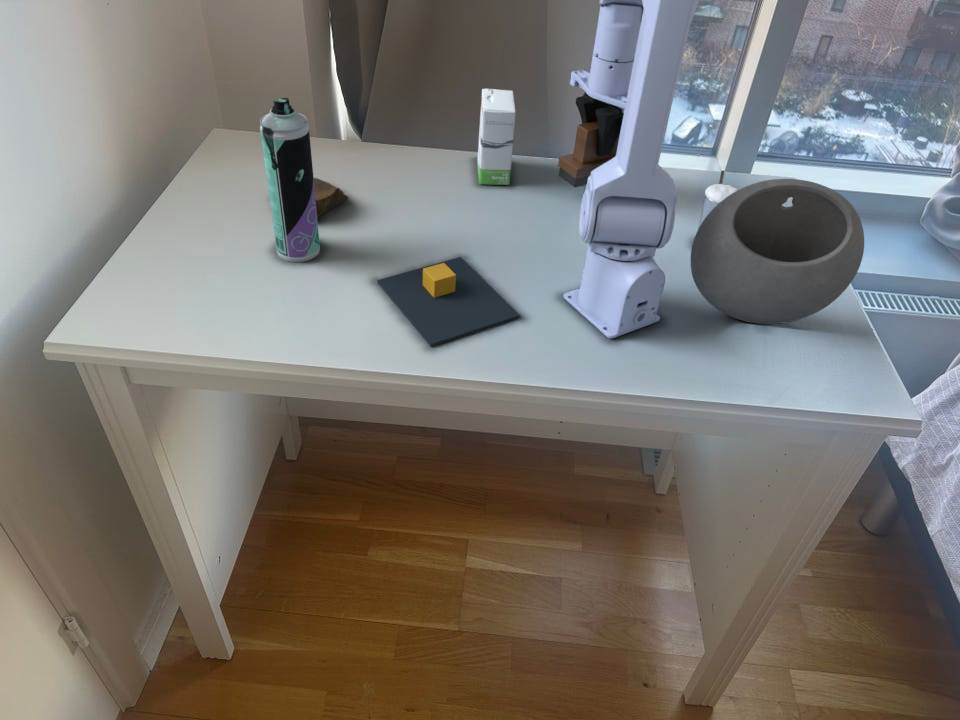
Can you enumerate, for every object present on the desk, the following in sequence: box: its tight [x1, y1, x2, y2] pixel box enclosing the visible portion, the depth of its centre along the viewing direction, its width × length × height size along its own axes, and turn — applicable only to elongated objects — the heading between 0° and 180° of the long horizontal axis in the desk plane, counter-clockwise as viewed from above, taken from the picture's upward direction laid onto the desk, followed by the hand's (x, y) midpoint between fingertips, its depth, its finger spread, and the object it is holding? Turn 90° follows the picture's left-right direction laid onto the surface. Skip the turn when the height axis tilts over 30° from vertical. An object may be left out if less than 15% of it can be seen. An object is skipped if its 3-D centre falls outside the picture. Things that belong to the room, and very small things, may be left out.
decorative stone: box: [313, 177, 349, 218], centre depth 105 cm, size 10×9×4 cm
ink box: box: [476, 88, 517, 186], centre depth 113 cm, size 9×5×12 cm, turn 2°
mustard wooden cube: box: [423, 263, 456, 298], centre depth 91 cm, size 3×3×2 cm
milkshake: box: [697, 170, 739, 230], centre depth 101 cm, size 4×5×10 cm
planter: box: [690, 178, 865, 325], centre depth 85 cm, size 18×7×19 cm, turn 78°
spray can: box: [259, 97, 321, 263], centre depth 90 cm, size 6×6×20 cm
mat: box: [376, 256, 520, 348], centre depth 90 cm, size 14×12×1 cm
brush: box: [557, 121, 620, 188], centre depth 109 cm, size 10×4×8 cm, turn 121°
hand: (597, 150), depth 109 cm, fingers closed on brush, 2 cm apart
